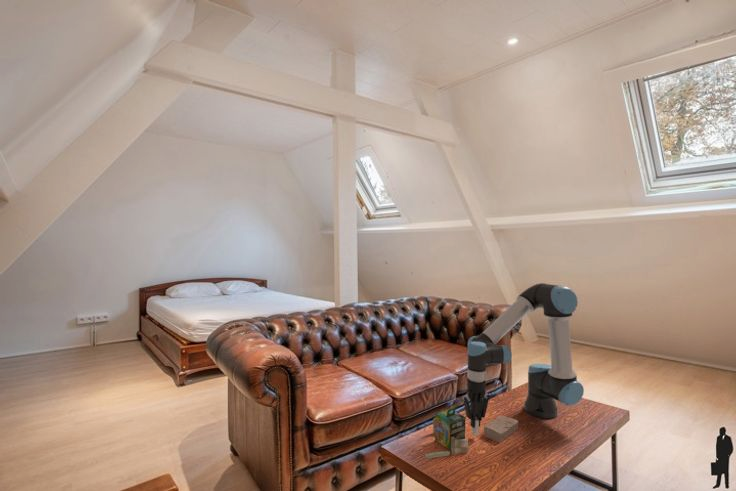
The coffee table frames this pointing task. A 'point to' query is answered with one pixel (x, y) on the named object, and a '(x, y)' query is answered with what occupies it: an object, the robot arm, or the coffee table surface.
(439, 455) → the kerb
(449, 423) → the chalk box
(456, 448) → the chute
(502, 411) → the coffee table surface
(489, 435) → the brick
